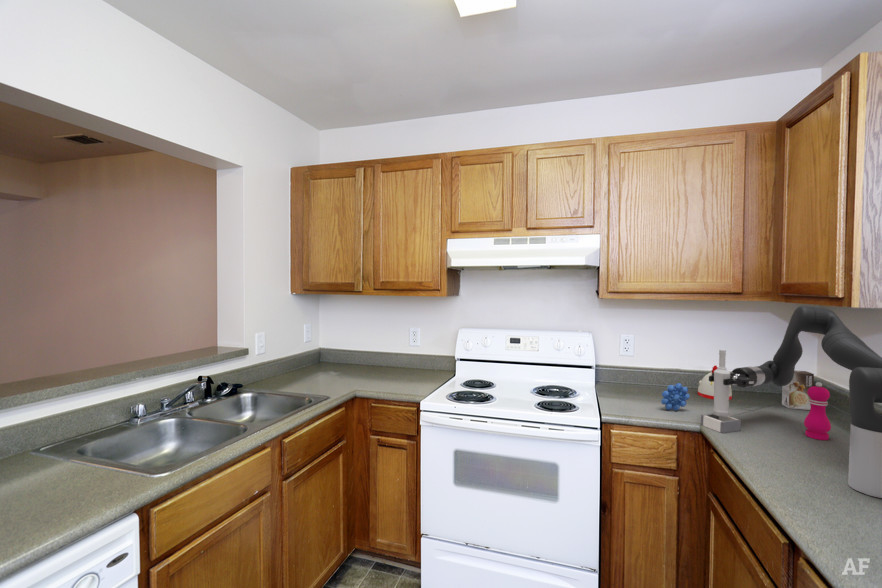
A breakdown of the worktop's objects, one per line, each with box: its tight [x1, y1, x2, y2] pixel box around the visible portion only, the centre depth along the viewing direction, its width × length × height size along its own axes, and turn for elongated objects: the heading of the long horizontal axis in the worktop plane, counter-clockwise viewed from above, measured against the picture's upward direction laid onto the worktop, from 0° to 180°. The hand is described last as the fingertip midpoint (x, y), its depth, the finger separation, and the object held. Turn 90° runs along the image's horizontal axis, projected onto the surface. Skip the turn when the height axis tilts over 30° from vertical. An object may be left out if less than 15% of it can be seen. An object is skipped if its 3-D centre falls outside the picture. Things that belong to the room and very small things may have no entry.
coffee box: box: [781, 370, 815, 411], centre depth 182 cm, size 9×6×16 cm
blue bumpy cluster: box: [660, 382, 691, 411], centre depth 178 cm, size 12×7×12 cm, turn 84°
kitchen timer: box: [697, 364, 733, 401], centre depth 199 cm, size 14×14×15 cm
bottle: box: [712, 349, 731, 417], centre depth 156 cm, size 5×5×25 cm
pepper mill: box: [803, 381, 832, 441], centre depth 147 cm, size 7×7×20 cm
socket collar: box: [700, 412, 742, 434], centre depth 156 cm, size 9×9×4 cm
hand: (717, 380), depth 155 cm, fingers closed on bottle, 5 cm apart
